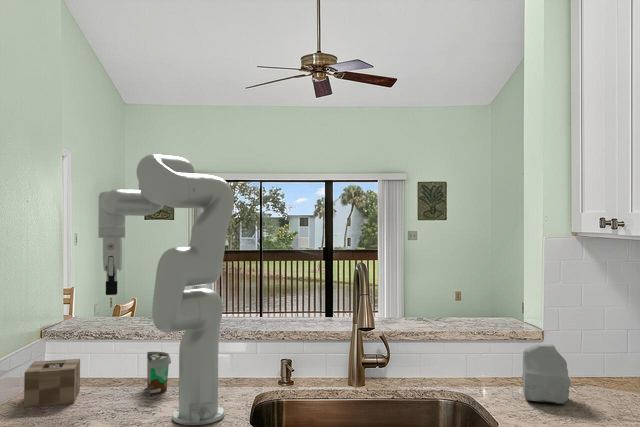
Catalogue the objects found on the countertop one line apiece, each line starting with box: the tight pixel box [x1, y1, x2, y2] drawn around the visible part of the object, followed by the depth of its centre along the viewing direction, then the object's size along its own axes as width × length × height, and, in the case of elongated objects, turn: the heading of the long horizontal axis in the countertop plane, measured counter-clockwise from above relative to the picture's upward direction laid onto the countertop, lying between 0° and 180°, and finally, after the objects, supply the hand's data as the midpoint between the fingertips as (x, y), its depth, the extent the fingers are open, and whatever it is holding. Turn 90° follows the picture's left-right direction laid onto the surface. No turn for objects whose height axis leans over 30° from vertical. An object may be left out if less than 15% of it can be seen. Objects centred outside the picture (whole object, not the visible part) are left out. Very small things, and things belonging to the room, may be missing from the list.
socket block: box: [23, 358, 81, 408], centre depth 153 cm, size 12×12×9 cm
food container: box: [146, 351, 172, 397], centre depth 161 cm, size 12×6×10 cm, turn 22°
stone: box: [522, 343, 572, 405], centre depth 153 cm, size 12×12×15 cm
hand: (111, 294), depth 167 cm, fingers closed
